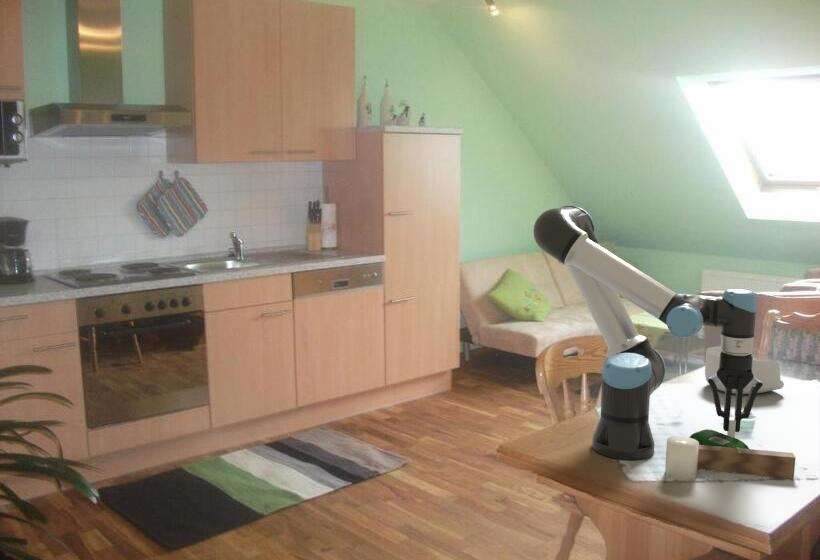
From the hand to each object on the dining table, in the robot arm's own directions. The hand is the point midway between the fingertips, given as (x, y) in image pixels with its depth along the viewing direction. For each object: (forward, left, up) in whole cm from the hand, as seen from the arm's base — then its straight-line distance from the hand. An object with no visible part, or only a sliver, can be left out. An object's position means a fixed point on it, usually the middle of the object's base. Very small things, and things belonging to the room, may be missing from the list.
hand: (730, 443), depth 206 cm
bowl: (+9, +56, -2) cm, 57 cm away
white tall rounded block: (-13, -20, -2) cm, 24 cm away
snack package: (-3, -5, -2) cm, 7 cm away
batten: (+1, -14, -2) cm, 15 cm away
